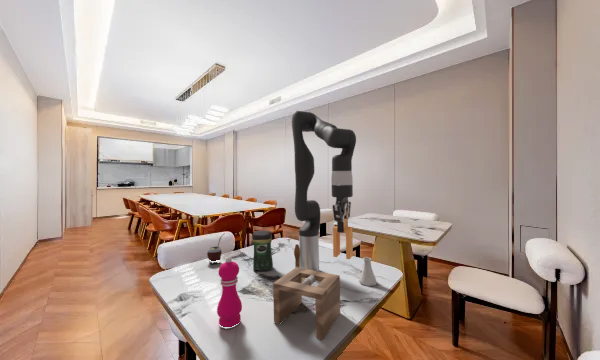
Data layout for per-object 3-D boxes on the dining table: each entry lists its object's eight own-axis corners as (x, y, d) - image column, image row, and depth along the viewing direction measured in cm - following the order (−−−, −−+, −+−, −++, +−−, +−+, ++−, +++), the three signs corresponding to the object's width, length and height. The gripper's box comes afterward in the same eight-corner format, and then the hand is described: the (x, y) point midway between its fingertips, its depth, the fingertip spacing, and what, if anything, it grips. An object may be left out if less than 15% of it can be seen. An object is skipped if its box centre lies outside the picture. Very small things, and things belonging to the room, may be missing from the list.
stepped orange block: (333, 256, 83) (332, 219, 83) (337, 253, 86) (336, 217, 86) (349, 259, 80) (349, 220, 80) (352, 255, 83) (352, 218, 83)
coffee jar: (273, 265, 116) (272, 228, 116) (272, 271, 108) (271, 232, 108) (254, 265, 116) (253, 229, 116) (251, 272, 108) (250, 232, 108)
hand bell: (285, 280, 98) (284, 243, 98) (302, 277, 101) (302, 241, 101) (292, 289, 90) (291, 248, 90) (311, 284, 94) (310, 245, 94)
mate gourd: (204, 265, 119) (204, 236, 119) (213, 259, 126) (212, 232, 126) (218, 265, 117) (217, 236, 117) (225, 260, 125) (225, 232, 125)
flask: (378, 287, 90) (377, 261, 90) (359, 285, 92) (358, 261, 92) (376, 279, 97) (375, 256, 97) (358, 278, 99) (357, 255, 99)
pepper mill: (220, 316, 73) (219, 253, 73) (244, 315, 73) (242, 252, 73) (214, 331, 65) (212, 261, 65) (240, 329, 66) (238, 260, 66)
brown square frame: (273, 323, 69) (273, 283, 69) (296, 301, 81) (296, 267, 81) (323, 339, 61) (322, 294, 61) (340, 312, 73) (339, 275, 73)
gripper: (338, 183, 91) (339, 226, 91) (324, 184, 79) (325, 234, 79) (357, 183, 87) (358, 228, 87) (346, 184, 75) (346, 236, 75)
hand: (342, 230), depth 83 cm, fingers closed on stepped orange block, 4 cm apart
